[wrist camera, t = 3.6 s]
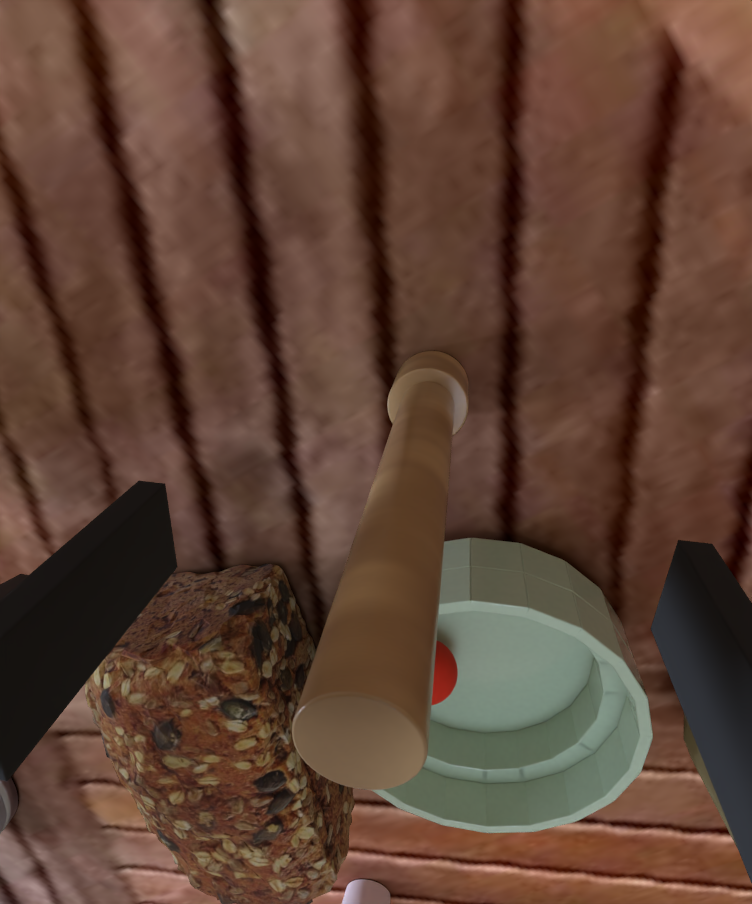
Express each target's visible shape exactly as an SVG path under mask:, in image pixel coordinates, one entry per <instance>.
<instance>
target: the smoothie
mask: <svg viewBox="0 0 752 904" xmlns="http://www.w3.org/2000/svg"><path fill="white" fill-rule="evenodd" d="M390 898H391V897H390V893H389V891H388V890H387V889H386V888H385V887H384V886H383V885H381V884H379V883H377V882H375V881H371V880H366V879H359V880H354V881H352V882H350V883H349V884H348V885H347V888H346V891H345V895H344V898H343V902H342V904H390Z"/></svg>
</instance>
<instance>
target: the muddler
mask: <svg viewBox="0 0 752 904" xmlns="http://www.w3.org/2000/svg"><path fill="white" fill-rule="evenodd" d="M468 399H469V383H468V378H467V375H466V372H465V370H464V368H463V367H462V366H461V364H460V363H459V362H458V361H457V360H456V359H454V358H453V357H451V356H450V355H448V354H445V353H442V352H438V351H425V352H421V353H418V354H415V355H413V356H412V357H410V358H409V359H408V360H406V361H405V362H404V363H403V365H402V366H401V367H400V369H399V371H398V373H397V376H396V378H395V381H394V383H393V385H392V388H391V390H390V393H389V396H388V402H387V407H388V414H389V417H390V419H391V422H392V423H393V426H392V429H391V432H390V435H389V438H388V441H387V444H386V447H385V449H384V452H383V455H382V458H381V461H380V464H379V467H378V470H377V473H376V476H375V479H374V482H373V485H372V488H371V491H370V494H369V497H368V500H367V503H366V506H365V509H364V512H363V514H362V517H361V520H360V523H359V526H358V529H357V532H356V535H355V538H354V541H353V544H352V547H351V550H350V553H349V556H348V559H347V562H346V565H345V568H344V571H343V574H342V577H341V580H340V582H339V585H338V588H337V591H336V594H335V597H334V600H333V603H332V606H331V609H330V612H329V615H328V618H327V621H326V624H325V627H324V630H323V633H322V636H321V639H320V642H319V645H318V648H317V650H316V653H315V656H314V659H313V662H312V665H311V668H310V671H309V674H308V677H307V680H306V683H305V686H304V689H303V692H302V695H301V698H300V701H299V704H298V707H297V710H296V713H295V715H294V718H293V722H292V737H293V742H294V745H295V747H296V749H297V751H298V753H299V755H300V756H301V758H302V759H303V760H304V761H305V762H306V763H307V764H308V765H309V766H310V767H311V768H312V769H313V770H315V771H316V772H317V773H319V774H320V775H322V776H324V777H325V778H327V779H329V780H331V781H333V782H336V783H338V784H341V785H344V786H347V787H352V788H356V789H364V790H382V789H389V788H393V787H397V786H399V785H402V784H404V783H406V782H408V781H410V780H411V779H412V778H414V777H415V776H416V775H417V774H418V773H419V772H420V770H421V769H422V767H423V765H424V764H425V761H426V759H427V754H428V744H429V731H430V718H431V705H432V692H433V680H434V667H435V654H436V641H437V628H438V615H439V602H440V590H441V577H442V564H443V551H444V538H445V525H446V512H447V500H448V487H449V474H450V461H451V448H452V436H454V435H455V434H456V433H457V432H458V431H459V430H460V429H461V427H462V426H463V424H464V422H465V420H466V418H467V414H468Z"/></svg>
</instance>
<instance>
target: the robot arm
mask: <svg viewBox="0 0 752 904" xmlns="http://www.w3.org/2000/svg"><path fill="white" fill-rule="evenodd" d="M176 568H177V561H176V554H175V548H174V541H173V534H172V527H171V520H170V514H169V507H168V500H167V493H166V486H165V484H163V483H154V482H145V481H138V482H137V483H136V484H134V485H133V486H132V487H131V488H130V489H129V490H127V491H126V492H125V493H124V494H123V495H122V496H121V497H119V498H118V499H117V500H116V501H115V502H114V503H112V504H111V505H110V506H109V507H108V508H107V509H105V510H104V511H103V512H102V513H101V514H100V515H98V516H97V517H96V518H95V519H94V520H93V521H91V522H90V523H89V524H88V525H87V526H86V527H85V528H83V529H82V530H81V531H80V532H79V533H78V534H76V535H75V536H74V537H73V538H72V539H71V540H69V541H68V542H67V543H66V544H65V545H64V546H62V547H61V548H60V549H59V550H58V551H57V552H56V553H54V554H53V555H52V556H51V557H50V558H49V559H47V560H46V561H45V562H44V563H43V564H42V565H40V566H39V567H38V568H37V569H36V570H35V571H33V572H32V573H31V574H30V575H24V574H20V575H18V576H16V577H14V578H12V579H10V580H8V581H6V582H4V583H2V584H0V833H1V832H2V831H3V830H4V828H5V827H6V826H7V824H8V823H9V822H10V820H11V819H12V817H13V816H14V814H15V813H16V810H17V806H18V796H17V791H16V788H15V785H14V783H13V781H12V779H11V776H12V775H13V773H14V772H15V771H16V770H17V768H18V767H19V766H20V765H21V763H22V762H23V761H24V760H25V758H26V757H27V756H28V755H29V753H30V752H31V751H32V749H33V748H34V747H35V746H36V744H37V743H38V742H39V741H40V739H41V738H42V737H43V736H44V734H45V733H46V732H47V731H48V729H49V728H50V727H51V726H52V724H53V723H54V722H55V720H56V719H57V718H58V717H59V715H60V714H61V713H62V712H63V710H64V709H65V708H66V707H67V705H68V704H69V703H70V702H71V700H72V699H73V698H74V697H75V695H76V694H77V693H78V692H79V690H80V689H81V688H82V686H83V685H84V684H85V683H86V681H87V680H88V679H89V678H90V676H91V675H92V674H93V673H94V671H95V670H96V669H97V668H98V666H99V665H100V664H101V663H102V661H103V660H104V659H105V657H106V656H107V655H108V654H109V652H110V651H111V650H112V649H113V647H114V646H115V645H116V644H117V642H118V641H119V640H120V639H121V637H122V636H123V635H124V634H125V632H126V631H127V630H128V629H129V627H130V626H131V625H132V623H133V622H134V621H135V620H136V618H137V617H138V616H139V615H140V613H141V612H142V611H143V610H144V608H145V607H146V606H147V605H148V603H149V602H150V601H151V600H152V598H153V597H154V596H155V594H156V593H157V592H158V591H159V589H160V588H161V587H162V586H163V584H164V583H165V582H166V581H167V579H168V578H169V577H170V576H171V574H172V573H173V572H174V571H175V569H176ZM651 631H652V633H653V636H654V638H655V641H656V643H657V646H658V648H659V651H660V653H661V656H662V658H663V661H664V663H665V666H666V668H667V671H668V673H669V676H670V679H671V681H672V684H673V686H674V689H675V691H676V694H677V696H678V699H679V701H680V704H681V706H682V709H683V711H684V714H685V716H686V719H687V721H688V724H689V726H690V729H691V731H692V734H693V737H694V739H695V742H696V744H697V747H698V749H699V752H700V754H701V757H702V759H703V762H704V764H705V767H706V769H707V772H708V774H709V777H710V779H711V782H712V784H713V787H714V789H715V792H716V794H717V797H718V800H719V802H720V805H721V807H722V810H723V812H724V815H725V817H726V820H727V822H728V825H729V827H730V830H731V832H732V835H733V837H734V840H735V842H736V845H737V847H738V850H739V852H740V855H741V858H742V860H743V863H744V865H745V868H746V870H747V873H748V875H749V878H750V880H751V883H752V603H751V601H750V600H749V598H748V597H747V595H746V594H745V592H744V591H743V589H742V588H741V586H740V585H739V583H738V582H737V580H736V579H735V577H734V576H733V574H732V573H731V571H730V570H729V568H728V567H727V565H726V564H725V562H724V561H723V559H722V558H721V556H720V555H719V553H718V552H717V550H716V549H715V547H714V546H713V544H708V543H699V542H690V541H681V540H678V543H677V546H676V549H675V552H674V555H673V559H672V562H671V565H670V568H669V572H668V575H667V578H666V581H665V584H664V588H663V591H662V594H661V597H660V601H659V604H658V607H657V610H656V613H655V617H654V620H653V623H652V626H651Z"/></svg>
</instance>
